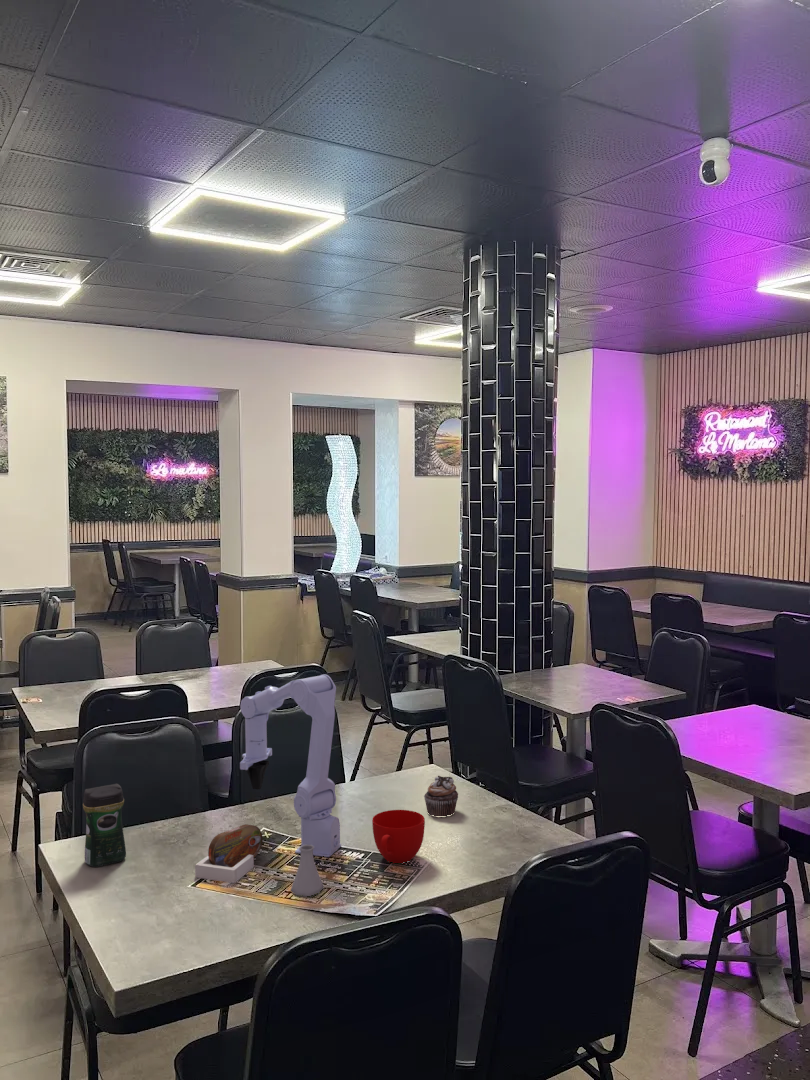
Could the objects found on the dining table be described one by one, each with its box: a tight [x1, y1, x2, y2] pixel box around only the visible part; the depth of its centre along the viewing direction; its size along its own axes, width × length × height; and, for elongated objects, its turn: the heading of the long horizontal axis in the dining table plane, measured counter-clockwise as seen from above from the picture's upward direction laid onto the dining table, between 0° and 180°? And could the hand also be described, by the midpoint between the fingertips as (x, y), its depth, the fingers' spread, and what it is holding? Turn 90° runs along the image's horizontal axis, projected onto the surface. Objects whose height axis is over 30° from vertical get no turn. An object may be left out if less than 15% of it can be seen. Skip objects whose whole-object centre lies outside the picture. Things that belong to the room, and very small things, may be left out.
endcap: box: [194, 855, 255, 884], centre depth 205 cm, size 10×9×3 cm
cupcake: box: [423, 775, 459, 816], centre depth 244 cm, size 10×10×10 cm
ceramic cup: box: [371, 809, 426, 864], centre depth 210 cm, size 13×17×10 cm
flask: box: [290, 844, 325, 897], centre depth 195 cm, size 7×7×10 cm
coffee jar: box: [82, 783, 127, 868], centre depth 213 cm, size 10×8×19 cm
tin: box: [207, 823, 263, 868], centre depth 211 cm, size 15×3×8 cm, turn 139°
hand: (256, 788), depth 235 cm, fingers closed
